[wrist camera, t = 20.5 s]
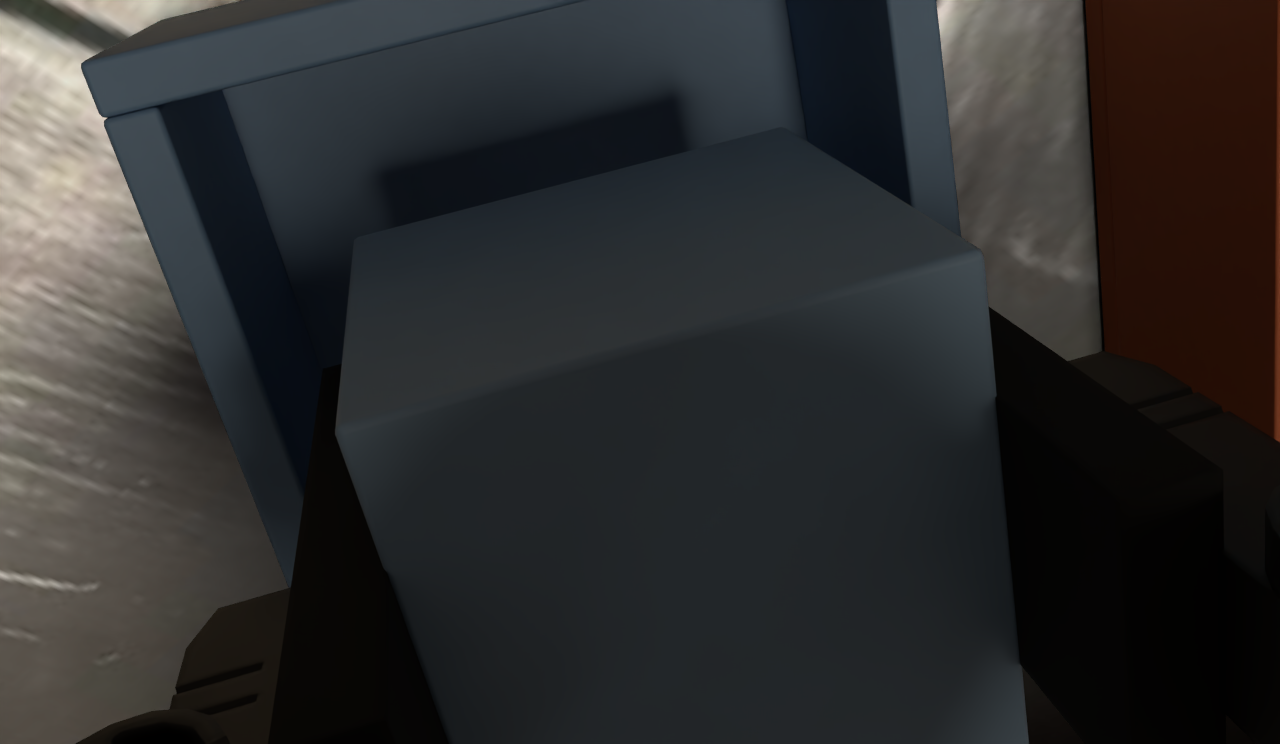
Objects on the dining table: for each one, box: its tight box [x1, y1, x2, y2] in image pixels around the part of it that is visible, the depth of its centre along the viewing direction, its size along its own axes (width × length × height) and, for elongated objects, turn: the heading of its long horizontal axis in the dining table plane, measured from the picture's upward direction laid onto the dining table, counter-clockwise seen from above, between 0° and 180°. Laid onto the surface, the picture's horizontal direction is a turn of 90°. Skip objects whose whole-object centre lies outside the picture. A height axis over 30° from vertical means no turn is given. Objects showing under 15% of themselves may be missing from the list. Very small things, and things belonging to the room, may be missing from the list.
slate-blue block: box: [335, 127, 1029, 744], centre depth 12 cm, size 5×5×5 cm
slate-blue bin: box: [81, 0, 961, 588], centre depth 17 cm, size 10×9×4 cm
